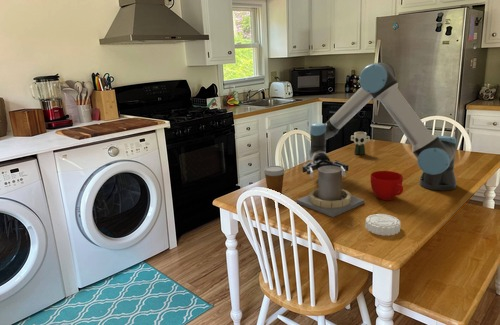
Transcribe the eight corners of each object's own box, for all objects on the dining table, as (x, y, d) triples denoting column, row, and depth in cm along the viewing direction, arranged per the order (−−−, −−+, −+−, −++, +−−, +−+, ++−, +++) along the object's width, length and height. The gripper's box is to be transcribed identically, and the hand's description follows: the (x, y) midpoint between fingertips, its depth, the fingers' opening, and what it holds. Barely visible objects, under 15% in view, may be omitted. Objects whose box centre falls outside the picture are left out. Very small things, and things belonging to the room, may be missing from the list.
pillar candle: (340, 195, 165) (340, 162, 161) (343, 204, 156) (343, 169, 152) (317, 195, 166) (317, 162, 162) (318, 204, 157) (318, 169, 153)
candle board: (364, 203, 160) (364, 194, 158) (332, 217, 148) (332, 207, 147) (327, 191, 175) (327, 182, 174) (296, 202, 163) (296, 194, 162)
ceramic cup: (387, 208, 153) (388, 185, 151) (363, 194, 169) (364, 173, 166) (414, 203, 157) (416, 180, 154) (388, 190, 172) (390, 169, 170)
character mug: (349, 154, 231) (350, 133, 227) (351, 151, 237) (352, 131, 233) (368, 156, 226) (369, 134, 223) (369, 152, 233) (370, 132, 229)
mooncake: (392, 220, 144) (393, 211, 143) (405, 235, 132) (406, 225, 131) (360, 222, 144) (361, 213, 142) (371, 237, 132) (371, 227, 131)
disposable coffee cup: (284, 197, 170) (283, 171, 167) (262, 196, 172) (261, 171, 168) (286, 189, 179) (285, 165, 175) (266, 189, 181) (265, 165, 177)
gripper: (347, 166, 183) (357, 181, 162) (294, 168, 184) (298, 183, 163) (347, 151, 180) (358, 164, 160) (294, 153, 182) (298, 167, 161)
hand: (328, 174), depth 162 cm, fingers open, 13 cm apart
